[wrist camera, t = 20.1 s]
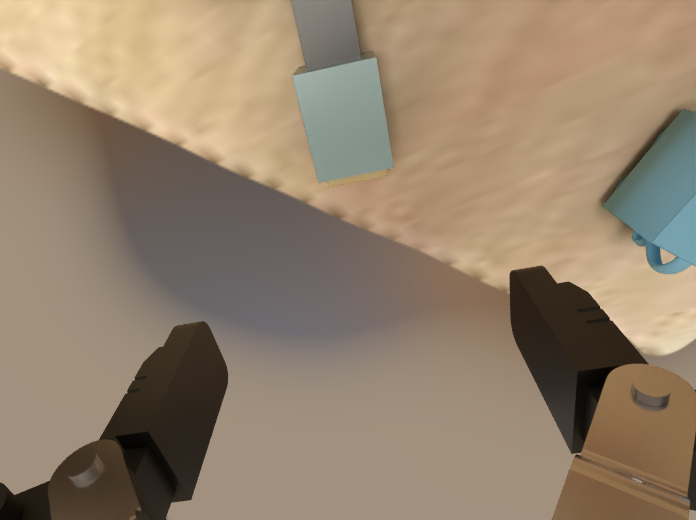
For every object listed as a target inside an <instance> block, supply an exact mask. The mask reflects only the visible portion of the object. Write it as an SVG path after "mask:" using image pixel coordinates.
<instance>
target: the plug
mask: <svg viewBox="0 0 696 520" xmlns="http://www.w3.org/2000/svg"><path fill="white" fill-rule="evenodd" d="M291 3H292V7H293V12H294V16H295V20H296V25H297V29H298V33H299V37H300V42H301V46H302V50H303V55H304V59H305V63H306V66H304V67H299V68H298V69H297V71H296V72H295V73H294V74H293V75H292V78H293V82H294V86H295V90H296V94H297V98H298V102H299V106H300V110H301V115H302V119H303V123H304V127H305V131H306V135H307V139H308V143H309V147H310V151H311V155H312V159H313V163H314V167H315V171H316V175H317V179H318V183H321V182H326V181H327V183H328V187H333V186H338V185H343V184H348V183H353V182H358V181H363V180H369V179H374V178H379V177H384V176H387V173H386V169H391V168H394V166H393V159H392V153H391V147H390V140H389V134H388V128H387V122H386V115H385V109H384V103H383V97H382V90H381V84H380V78H379V71H378V65H377V59H376V56H375V55H374V53H373V51H370V52H366V53H362V54H360V48H359V42H358V36H357V31H356V25H355V19H354V13H353V8H352V2H351V0H291Z"/></svg>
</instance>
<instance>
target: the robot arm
mask: <svg viewBox="0 0 696 520" xmlns="http://www.w3.org/2000/svg"><path fill="white" fill-rule="evenodd" d="M510 311H511V312H510V314H511V326H512V331H513V335H514V338H515V341H516V344H517V346H518V348H519V350H520V352H521V354H522V356H523V358H524V360H525V362H526V364H527V366H528V368H529V370H530V372H531V374H532V376H533V378H534V380H535V382H536V383H537V386H538V388H539V390H540V392H541V394H542V396H543V398H544V400H545V402H546V404H547V406H548V408H549V410H550V412H551V414H552V416H553V418H554V420H555V422H556V424H557V426H558V428H559V430H560V431H561V434H562V436H563V438H564V440H565V442H566V444H567V446H568V448H569V450H570V451H571V454H573V453H581V455H576V456H575V457H574V459H573V461H572V464H571V466H570V469H569V472H568V475H567V478H566V481H565V484H564V486H563V489H562V492H561V495H560V498H559V500H558V503H557V506H556V509H555V512H554V515H553V518H552V520H688V519H689V509H690V510H696V390H694V389H693V387H692V386H691V385H690V384H689V383H688V382H687V381H686V380H684V379H683V378H682V377H680V376H679V375H677V374H675V373H673V372H671V371H669V370H666V369H664V368H661V367H657V366H653V365H649V364H648V363H647V362H646V361H645V359H644V358H643V357H642V356H641V355H640V353H639V352H638V351H637V350H636V349H635V347H634V346H633V345H632V344H631V343H630V342H629V340H628V339H627V338H626V337H625V336H624V334H623V333H622V332H621V331H620V330H619V328H618V327H617V326H616V325H615V324H614V323H613V321H610V318H609V317H608V315H607V314H606V313H605V312H604V311H603V309H600V306H599V305H598V303H597V302H596V301H595V300H594V299H593V298H592V296H591V295H590V294H589V293H588V292H587V291H585V290H583V289H581V288H580V287H578V286H576V285H574V284H572V283H571V282H564V283H558V284H557V283H556V282H555V280H554V279H553V278H552V276H551V275H550V274H549V272H548V271H547V270H546V268H545V267H544V266H536V267H530V268H524V269H518V270H513V271H511V272H510ZM227 384H228V371H227V366H226V363H225V361H224V359H223V356H222V354H221V352H220V350H219V348H218V345H217V343H216V341H215V339H214V336H213V334H212V332H211V330H210V327H209V326H208V324H207V323H206V322H204V321H202V322H196V323H190V324H184V325H178V326H175V327H174V328H173V330H172V331H171V333H170V335H169V337H168V339H167V341H166V342H165V345H164V346H163V347H159V348H158V349H157V350H156V351H155V352H153V353H152V354H151V355H150V356H149V357H148V358H147V359H146V360H145V361H144V362H143V364H142V366H141V368H140V369H139V371H138V373H137V374H136V376H135V381H132V383H131V385H130V387H129V388H128V390H127V391H128V393H127V394H125V395H124V397H123V399H122V401H121V402H120V404H119V406H118V408H117V409H116V411H115V413H114V415H113V416H112V418H111V420H110V422H109V423H108V425H107V427H106V428H105V431H104V432H103V434H102V435H101V437H100V439H99V440H98V441H94V442H91V443H89V444H87V445H85V446H83V447H81V448H79V449H78V450H76V451H75V452H73V453H72V454H71V455H69V456H68V457H67V458H66V459H65V460H64V461H63V462H62V463H61V464H60V465H59V466H58V468H57V469H56V470H55V472H54V473H53V475H52V477H51V479H50V481H48V482H46V483H43V484H41V485H38V486H36V487H34V488H31V489H29V490H26V491H24V492H21V493H19V494H16V495H14V494H13V493H12V492H11V491H10V490H9V489H8V488H7V487H6V486H5V485H4V484H3V483H0V520H170V519H169V517H168V516H167V513H168V510H169V508H170V505H171V502H179V501H187V500H191V499H192V495H193V492H194V489H195V486H196V483H197V480H198V477H199V473H200V470H201V467H202V464H203V461H204V458H205V455H206V451H207V448H208V445H209V442H210V439H211V436H212V433H213V429H214V426H215V423H216V420H217V417H218V414H219V411H220V407H221V404H222V401H223V398H224V395H225V391H226V388H227Z"/></svg>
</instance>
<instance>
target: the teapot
mask: <svg viewBox="0 0 696 520" xmlns="http://www.w3.org/2000/svg"><path fill="white" fill-rule="evenodd" d="M603 207H604V208H605V209H607V210H608V211H609V212H611V213H612V214H613V215H615V216H616V217H617V218H619V219H620V220H621V221H622V222H624V223H625V224H626V225H628V226H629V227H630V228H632V229H633V230H634V232H633V234H632V239H633V241H634V242H635V243H636V244H637V245H639V246H646V256H647V260H648V263H649V265H650V266H651V267H652V268H653V269H654V270H655V271H657V272H659V273H663V274H675V273H678V272H681V271H683V270H685V269H686V268H688V267H689V266H690V265H691V264H692V265H694V266H696V113H695V112H692V111H688V110H685V109H682V111H681V112H680V113H679V114H678V115H677V117H676V118H675V119H674V120H673V121H672V123H671V124H670V125H669V126H668V128H667V129H665V130H663V131H662V132H661V133H660V134H659V135H658V136H657V138H656V140H655V143H654V144H653V146H652V147H651V148H650V149H649V150H648V152H647V153H646V154H645V155H644V156H643V158H642V159H641V160H640V161H639V163H638V164H637V165H636V166H635V167H634V169H633V170H632V171H631V172H630V173H629V175H628V176H627V177H626V178H624V179H623V180H621V181H620V182H619V183H618V185H617V187H616V190H615V192H614V193H613V194H612V195H611V197H610V198H609V199H608V200H607V201H606V203H605V204H604V205H603ZM660 248H662V249H664V250H666V251H667V252H669V253H671V254H673V255H675V256H677V257H676V258H675V259H674V260H672V261H671V262H669V263H666V264H662V261H661V256H660Z"/></svg>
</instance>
